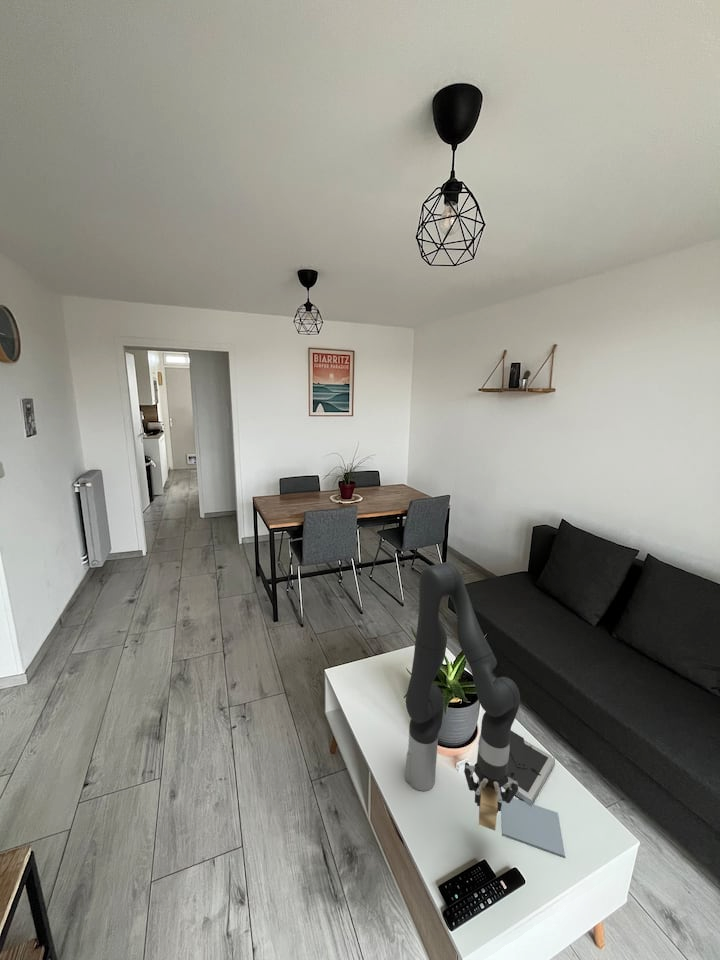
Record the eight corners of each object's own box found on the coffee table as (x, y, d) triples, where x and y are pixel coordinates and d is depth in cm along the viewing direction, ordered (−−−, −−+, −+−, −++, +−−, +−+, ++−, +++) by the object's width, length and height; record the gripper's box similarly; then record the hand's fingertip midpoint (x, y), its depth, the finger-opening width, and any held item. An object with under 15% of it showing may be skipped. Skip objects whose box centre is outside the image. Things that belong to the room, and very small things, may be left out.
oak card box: (478, 824, 96) (480, 802, 95) (479, 788, 105) (482, 767, 104) (495, 830, 95) (497, 808, 94) (494, 793, 104) (497, 772, 103)
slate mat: (502, 835, 106) (502, 833, 106) (501, 795, 117) (501, 794, 117) (564, 857, 101) (565, 856, 101) (557, 814, 112) (557, 812, 112)
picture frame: (509, 736, 139) (483, 772, 125) (510, 729, 139) (483, 765, 125) (554, 763, 128) (531, 805, 114) (555, 756, 128) (531, 797, 113)
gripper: (464, 755, 96) (459, 810, 99) (524, 773, 91) (516, 831, 94) (466, 732, 103) (461, 784, 106) (521, 748, 98) (515, 802, 101)
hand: (487, 806), depth 100 cm, fingers closed on oak card box, 4 cm apart
